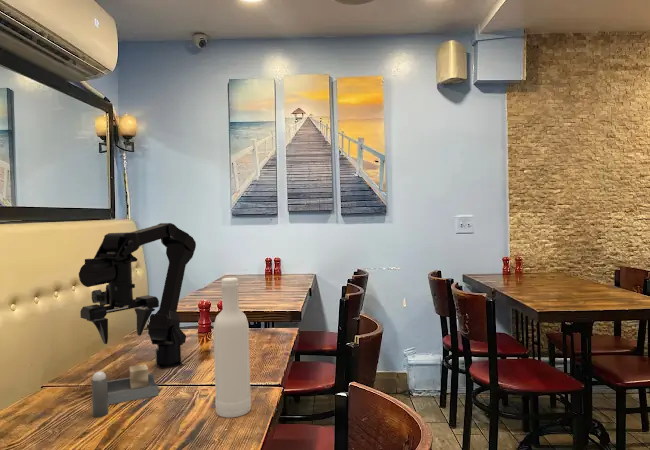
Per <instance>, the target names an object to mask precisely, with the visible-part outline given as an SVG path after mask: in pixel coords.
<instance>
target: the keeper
mask: <svg viewBox="0 0 650 450" xmlns="http://www.w3.org/2000/svg"><path fill="white" fill-rule="evenodd" d="M128 370H129V377H130V388H131V389H133V388H139V387H144V386H148V374H149V368H148V366H147V364H139V365H138V364H137V365H133V366H129V369H128Z"/></svg>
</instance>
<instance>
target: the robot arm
mask: <svg viewBox="0 0 650 450" xmlns="http://www.w3.org/2000/svg"><path fill="white" fill-rule="evenodd" d="M159 240H160V242H161V244H162V245H163V246H164V247H165V248H166V249H165V250H166V251H165V255H166V257H167V260H168V267H167V272H166V274H165V275H166V276H165V279H164V280H165V281H164V286H163V290H162V295H161V300H160V301H159V298H158V297H157V296H155V295H154V296H153V295H142V296H136V298H135V299H134V298H133V297H134V296H133V294H134V292H133V289H135V288H136V284H135V283H133V273H132V269H133V268H132V263H134V262H138V258H137V257H136V256H134V255H133V253H135V252H136V251H138V250H139V248H140V247H141V246H143V245H146V244H150V243H152V242H155V241H159ZM196 247H197V243H196V241H195V238H194V237H193V236H192V235H190V234H189V233H188V232H186V231H184V230H182V229H181V228H179V227H178V226H176V225H175V224H174V223H171V222H167V223H166V222H161V223H158V224H156V225H152V226H149V227H145V228H142V229H138V230H135V231H129V232H108V233H106V234H105V235H104V238H103V240H102V242H101V244H100V246H99V248H98V249H97V252H96V254H95V255H94V256H93V258H85V259H84V264H83V265H81V267H80V269H79V272H78V278H79V281H80V283H81V284H82V285H83V287H86V288H91V287H95V286H102V285H106V286H105V290H104V291H102V290H101V289H96V290H92V291H91V301H92V303H93V304H91V305H87V306H86V305H85V306H82V308H81V309H80V311H79V312H80V313H79V314H80V318H81V319H84V320H86V321H88V322H92V324H93V325H94V327H96V329H97V332H98V333H99V335H100V338H101V340H102V343H103V344H104V345H107V344H108V341H109V340H108V339H109V319H108V318H107V317H106V316H107V315H108V314H110V313H116V312H121V311H126V310H132V309H134V312H135V315H136V333H137V336H139V337H140V336H142V334H143V332H144V330H145V327H146V325H147V322H148V320H149V322H148V325H147V333H148V334H147V335H148V336H149V338H150V341H151V344H152V345H157V348H156V349H155V351H154V353H155V363H156V365H157V366H158V368H159V369H165V368H166V369H167V368H171V367H172V368H173V367H178V366H182V365H183V362H182V355H181V353H182V352H181V348H182V347H181V346H183V344H185V343H186V339H187V335H186V334H185V332H184V331H182V330H181V329H180V327H181V320H180V318H179V315H178V311H177V310H178V305H179V300H180V296H181V290H182V286H183V280H184V275H185V272H186V271H185V270H186V266H187V264H188V263H189V261H191V260H192V258H193V257H194V254H195V250H196ZM98 303H99V304H98ZM156 308H159V309H158V310H157V312H155V311H156ZM153 312H155V313H153Z"/></svg>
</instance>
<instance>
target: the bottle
mask: <svg viewBox="0 0 650 450" xmlns="http://www.w3.org/2000/svg"><path fill="white" fill-rule="evenodd" d="M220 285H221V287H220V288H221V296H222V297H221V300H222V310H221V311H220V312H219V313H218V314H217V315H216V317H215V320H214V323H213V346H214V347H213V349H214V350H213V352H214V380H215V381H214V383H215V384H214V386H215V391H214V392H215V401H214V402H215V405H214V406H215V414H217V416H220V417H222V418H237V417H242V416H244V415H246V414H248V413H249V412H250V411H251V410H252V406H251V404H252V398H251V397H252V394H251V370H250V367H251V366H250V335H249V334H250V332H249V329H250V328H249V322H248V318H247V316H246V313H244V312H243V311H242V310H241V309H240V306H239V304H240V302H239V301H240V300H239V299H240V298H239V286H240V284H239V278H237V277H224V278H222V279H221V283H220Z"/></svg>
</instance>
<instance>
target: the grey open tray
mask: <svg viewBox="0 0 650 450" xmlns="http://www.w3.org/2000/svg"><path fill="white" fill-rule="evenodd" d="M99 371H100V370H95V371H94V374H95V373H96V372H99ZM107 388H108V406H109V405H113V404H119V403H120V404H121V403H125V402H129V401H130V402H131V401H135V400H136V401H137V400H142V399H147V398H151V397H152V398H153V397H156V396H158V397H159V384H156V382H155V373H148V386H144V387H139V388H133V389H131V388H130V376H129V377H124V378H117V379H111V380H107Z"/></svg>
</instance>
